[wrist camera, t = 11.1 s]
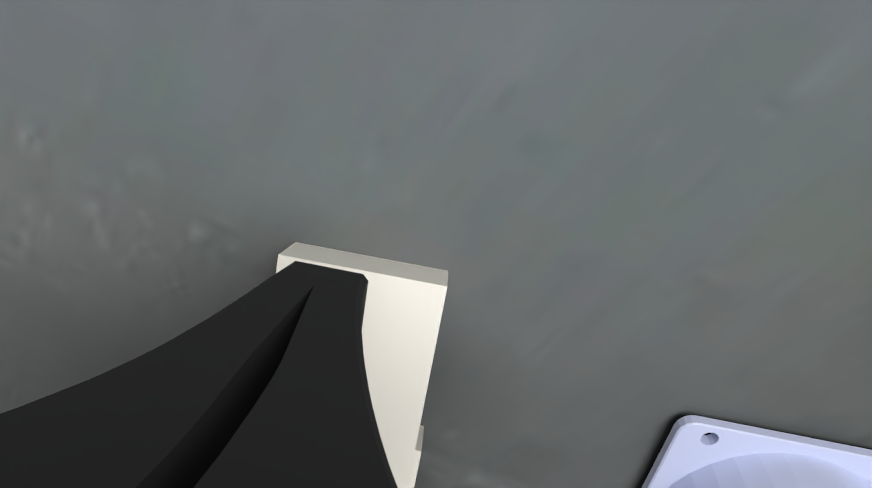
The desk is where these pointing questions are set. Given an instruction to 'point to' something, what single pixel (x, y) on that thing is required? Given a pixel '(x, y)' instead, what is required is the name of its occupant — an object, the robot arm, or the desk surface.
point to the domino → (391, 340)
